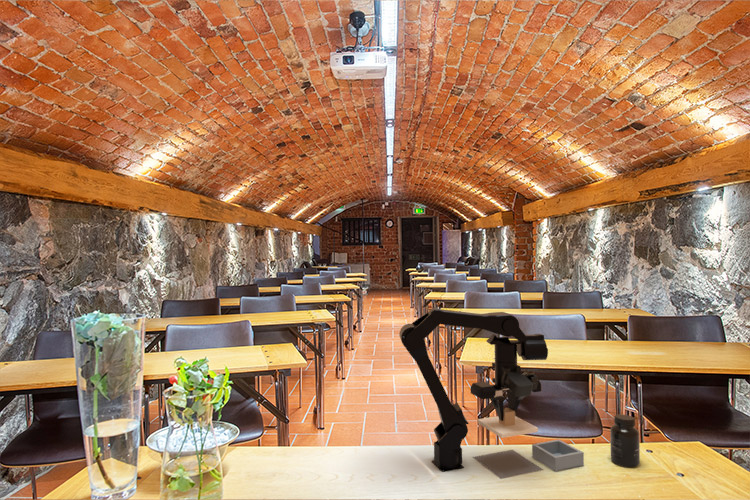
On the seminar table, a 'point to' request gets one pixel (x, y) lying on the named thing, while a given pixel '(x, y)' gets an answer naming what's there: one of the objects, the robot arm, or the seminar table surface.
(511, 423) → the lid
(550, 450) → the dish
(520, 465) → the mat
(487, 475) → the seminar table surface
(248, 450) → the seminar table surface
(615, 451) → the supplement bottle
